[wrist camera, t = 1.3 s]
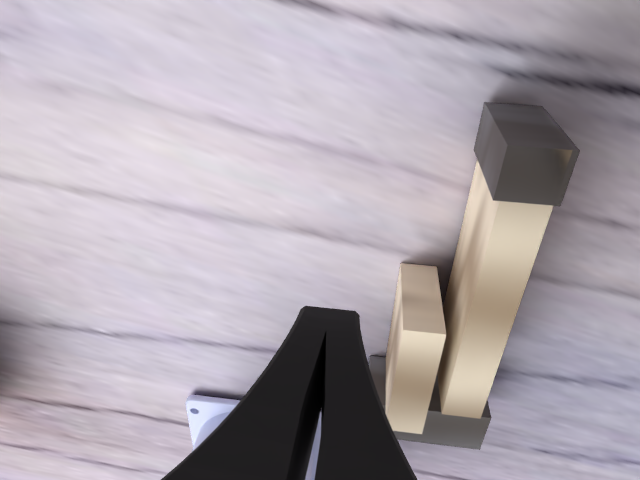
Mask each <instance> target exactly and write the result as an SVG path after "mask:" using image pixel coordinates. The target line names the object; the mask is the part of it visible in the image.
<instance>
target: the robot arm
mask: <svg viewBox="0 0 640 480" xmlns="http://www.w3.org/2000/svg"><path fill="white" fill-rule="evenodd" d="M321 407H322V413H321V412H320V411H321ZM186 409H187V415H188V421H189V426H190V432H191V438H192V443H193V450H192V453H191V454H190V455H188V456H187V457H186V458H185V459H184V460H183V461H182V462H181V463H180V464H179V465H178V466H176V467H175V468H174V469H173V470H172V471H171V472H169V473H168V474H167V475H166V476H165V477H164V478H162V479H161V480H417V478H416V476H415V474H414V473H413V471H412V469H411V467H410V465H409V463H408V461H407V459H406V457H405V455H404V453H403V451H402V449H401V447H400V445H399V443H398V441H397V439H396V436H395V434H394V432H393V430H392V428H391V425H390V423H389V421H388V418H387V416H386V413H385V411H384V408H383V406H382V403H381V401H380V398H379V395H378V392H377V390H376V387H375V384H374V381H373V378H372V375H371V371H370V368H369V365H368V362H367V358H366V354H365V350H364V346H363V342H362V336H361V330H360V321H359V314H358V313H357V312H356V311H349V310H340V309H330V308H321V307H311V306H305V307H303V308H302V309H301V310H300V312H299V315H298V317H297V319H296V321H295V323H294V325H293V327H292V328H291V330H290V332H289V334H288V335H287V337H286V339H285V340H284V342H283V343H282V345H281V347H280V348H279V350H278V351H277V353H276V354H275V355H274V357H273V358H272V360H271V361H270V363H269V364H268V366H267V367H266V369H265V370H264V371H263V373H262V374H261V375H260V377H259V378H258V379H257V381H256V382H255V383H254V384H253V386H252V387H251V388H250V390H249V391H248V392H247V393H246V395H245V396H244V397H243V398H242V400H233V399H225V398H217V397H208V396H200V395H190V396H189V397H188V398H187V400H186Z"/></svg>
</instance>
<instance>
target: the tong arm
mask: <svg viewBox="0 0 640 480" xmlns="http://www.w3.org/2000/svg"><path fill="white" fill-rule="evenodd" d="M474 152H475V154H476V157H477V162H476V166H475V171H474V175H473V179H472V184H471V188H470V192H469V197H468V201H467V205H466V210H465V214H464V218H463V223H462V227H461V231H460V236H459V240H458V244H457V249H456V253H455V257H454V262H453V266H452V270H451V275H450V279H449V283H448V288H447V292H446V296H445V301H444V305H443V314H444V321H445V328H446V339H445V343H444V347H443V351H442V355H441V359H440V363H439V367H438V371H437V375H438V384H439V393H440V402H441V412H442V414H445V415H454V416H462V417H470V418H479V419H481V416H482V413H483V410H484V407H485V404H486V401H487V398H488V395H489V392H490V389H491V387H492V384H493V381H494V378H495V375H496V372H497V369H498V366H499V363H500V360H501V357H502V354H503V352H504V349H505V346H506V343H507V340H508V337H509V334H510V331H511V328H512V325H513V322H514V320H515V317H516V314H517V311H518V308H519V305H520V302H521V299H522V296H523V293H524V290H525V287H526V285H527V282H528V279H529V276H530V273H531V270H532V267H533V264H534V261H535V258H536V255H537V252H538V250H539V247H540V244H541V241H542V238H543V235H544V232H545V229H546V226H547V223H548V220H549V217H550V215H551V212H552V209H553V206H561V203H562V200H563V197H564V194H565V192H566V189H567V186H568V183H569V180H570V177H571V174H572V172H573V169H574V166H575V163H576V160H577V157H578V155H579V152H580V150H579V149H578V148H577V147H576V146H575V144H574V143H573V142H572V141H571V140H570V138H569V137H568V136H567V135H566V134H565V133H564V131H563V130H562V129H561V128H560V127H559V125H558V124H557V123H556V122H555V121H554V119H553V118H552V117H551V116H550V115H549V114H548V112H547V111H546V110H545V109H544V108H543V106H530V105H516V104H502V103H488V102H484V107H483V111H482V115H481V120H480V124H479V129H478V133H477V138H476V142H475V147H474Z"/></svg>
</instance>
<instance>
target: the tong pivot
mask: <svg viewBox="0 0 640 480" xmlns="http://www.w3.org/2000/svg"><path fill="white" fill-rule="evenodd" d="M445 339H446V328H445V321H444V314H443V307H442V300H441V293H440V286H439V279H438V272H437V267H436V266H425V265H415V264H405V263H401V264H400V270H399V276H398V283H397V289H396V295H395V302H394V308H393V314H392V321H391V327H390V333H389V340H388V346H387V352H386V357H377V356H370V361H369V368H370V371H371V375H372V378H373V381H374V384H375V387H376V390H377V392H378V395H379V398H380V401H381V403H382V406H383V408H384V411H385V413H386V416H387V418H388V421H389V423H390V425H391V428H392V430H393V432H394V434H395V436H396V439H398V440H406V441H414V442H422V443H430V444H438V445H446V446H454V447H463V448H471V449H479V450H480V447H481V445H482V442H483V439H484V436H485V434H486V431H487V428H488V425H489V423H490V420H491V415H490V410H489V406H488V401H486V404H485V407H484V410H483V413H482V416H481V419H479V418H470V417H462V416H454V415H445V414H442V412H441V402H440V393H439V384H438V375H437V371H438V367H439V363H440V359H441V355H442V351H443V347H444V343H445Z"/></svg>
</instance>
